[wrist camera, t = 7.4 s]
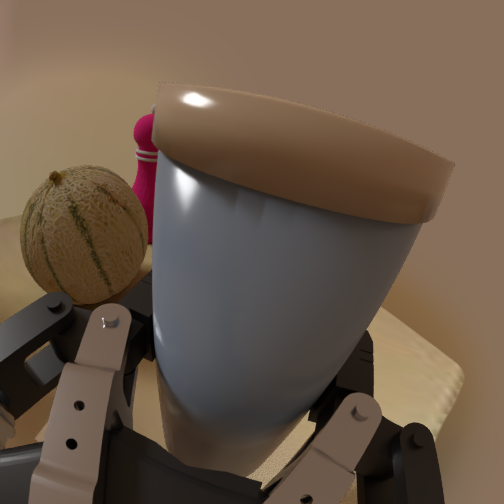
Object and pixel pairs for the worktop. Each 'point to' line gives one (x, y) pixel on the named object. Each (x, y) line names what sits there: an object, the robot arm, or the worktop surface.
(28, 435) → the worktop surface
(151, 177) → the pepper mill
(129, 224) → the cantaloupe
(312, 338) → the canister
